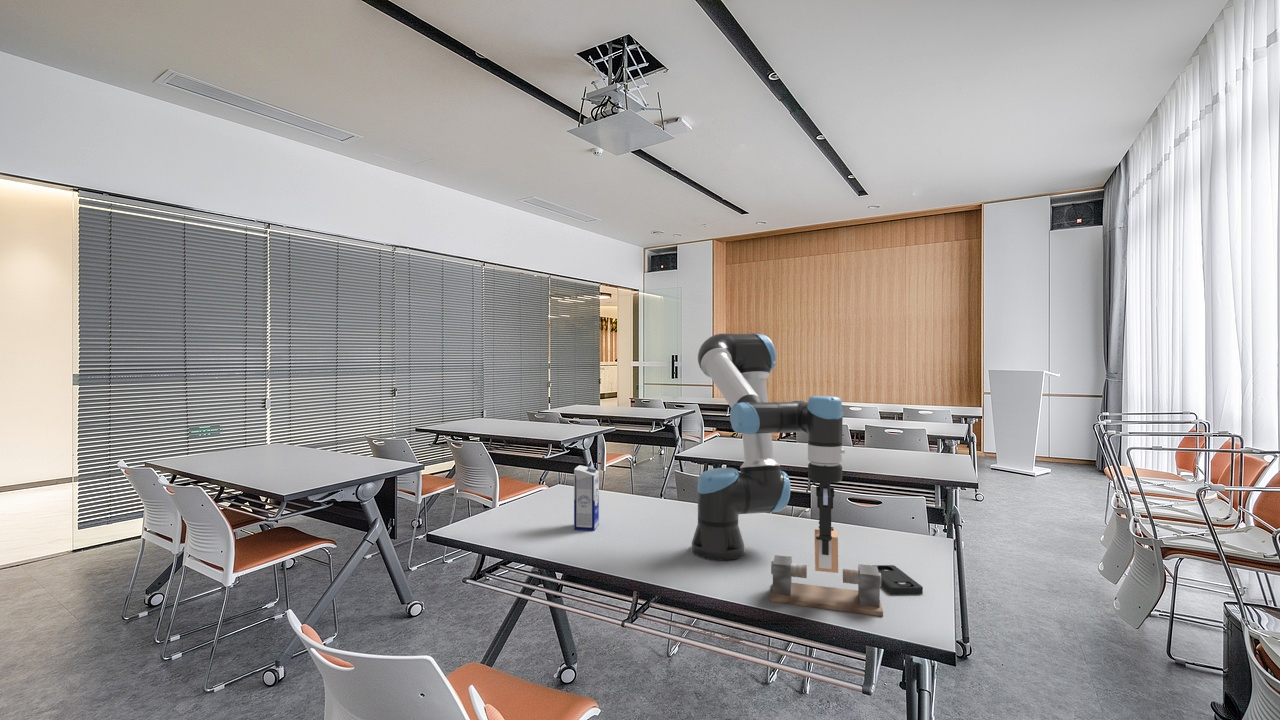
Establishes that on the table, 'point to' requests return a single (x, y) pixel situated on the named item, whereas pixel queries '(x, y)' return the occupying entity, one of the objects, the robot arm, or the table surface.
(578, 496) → the milk carton
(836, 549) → the coupler block
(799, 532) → the table surface
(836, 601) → the shaft bench
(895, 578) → the vhs tape
